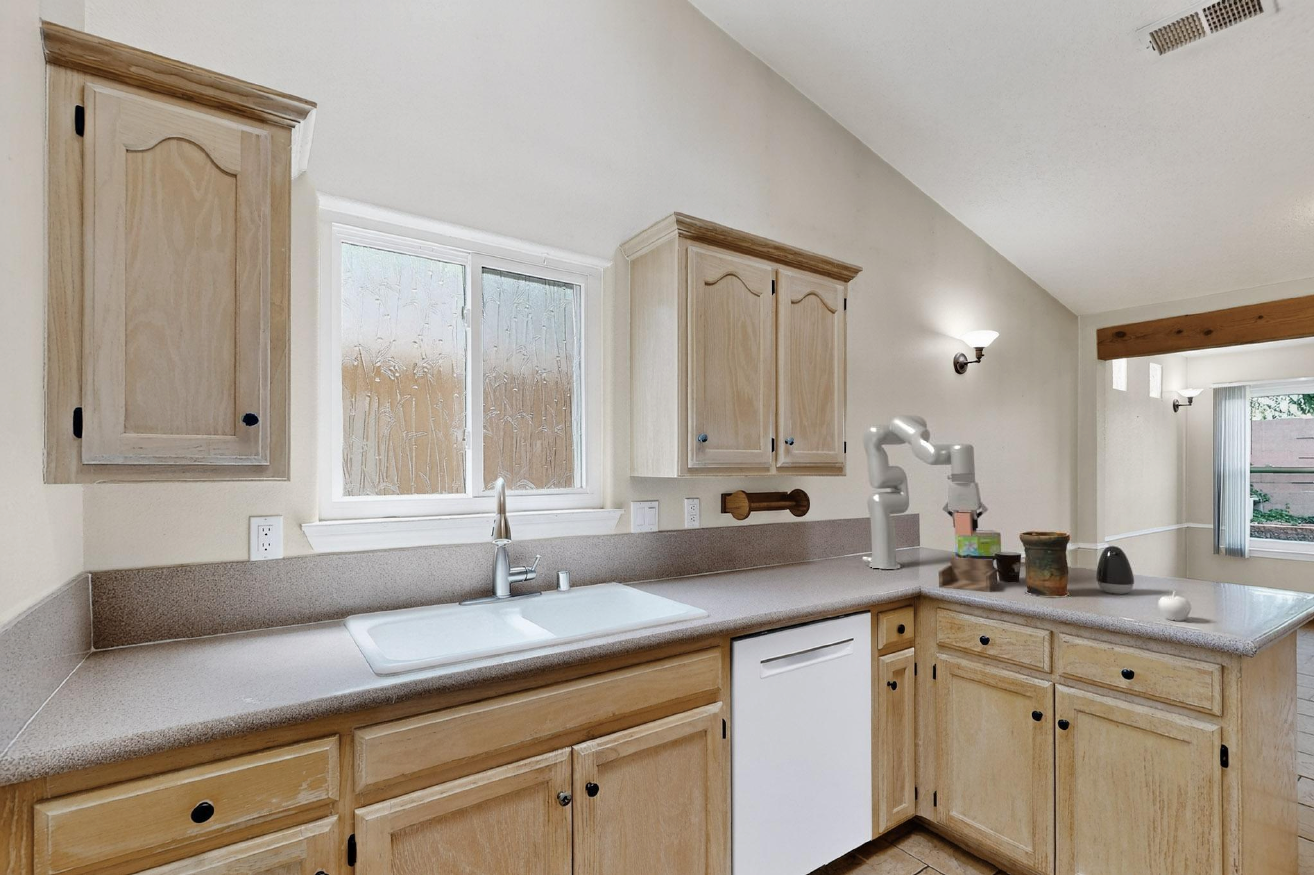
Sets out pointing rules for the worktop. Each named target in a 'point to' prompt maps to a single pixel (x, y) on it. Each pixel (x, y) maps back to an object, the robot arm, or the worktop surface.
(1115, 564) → the black rounded egg shape
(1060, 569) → the vessel
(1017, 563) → the coffee mug
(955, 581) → the stand
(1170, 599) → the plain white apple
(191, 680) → the worktop surface
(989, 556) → the tea box
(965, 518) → the salmon pink block
